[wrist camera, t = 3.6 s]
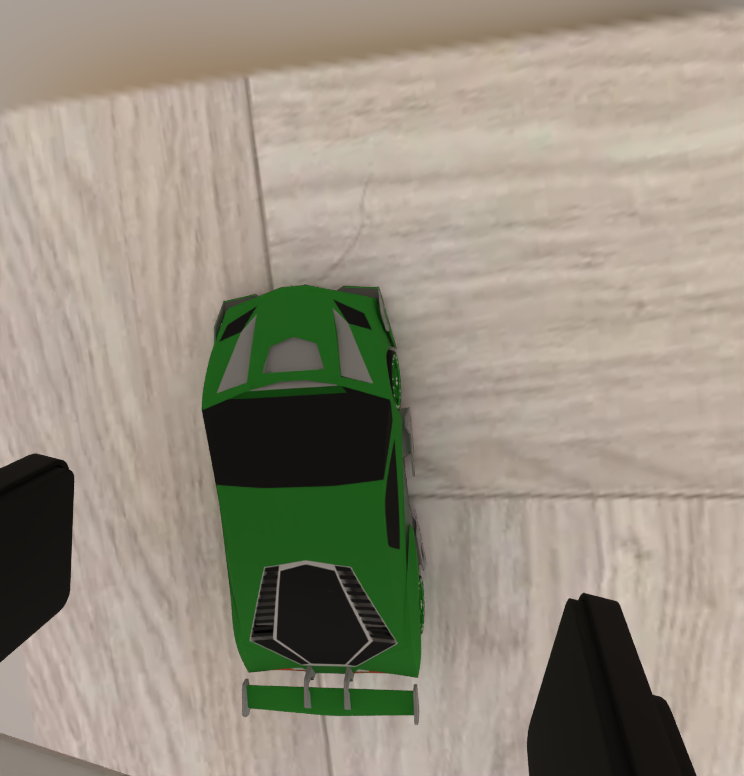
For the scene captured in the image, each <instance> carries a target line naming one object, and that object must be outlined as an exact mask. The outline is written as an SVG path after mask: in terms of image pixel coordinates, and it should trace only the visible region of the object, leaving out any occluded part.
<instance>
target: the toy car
mask: <svg viewBox="0 0 744 776" xmlns="http://www.w3.org/2000/svg"><path fill="white" fill-rule="evenodd" d="M221 323H222V325H221ZM389 348H396V345H395V342H394V338H393V335H392V331H391V328H390V324H389V321H388V317H387V314H386V310H385V307H384V303H383V300H382V296H381V292H380V289H379V287H356V286H343V287H341V288H340V289H339V290H337V291H335V290H330V289H325V288H319V287H314V286H308V285H306V284H305V285H301V286H291V287H281V288H279V289H276V290H274V291H271V292H269V293H266V294H263V295H261V296H258V295H256V294H254V295H249V296H245V297H241V298H237V299H232V300H228V301H225V300H224V302H223V304H222V307H221V310H220V312H219V315H218V318H217V321H216V323H215V326H214V347H213V350H212V353H211V356H210V360H209V364H208V368H207V372H206V377H205V382H204V389H203V397H202V413H203V419H204V424H205V429H206V434H207V440H208V445H209V450H210V455H211V461H212V466H213V472H214V477H215V482H216V488H217V493H218V499H219V505H220V513H221V520H222V528H223V536H224V544H225V552H226V561H227V569H228V577H229V585H230V594H231V606H232V620H233V629H234V636H235V640H236V644H237V648H238V651H239V654H240V656H241V658H242V661H243V663H244V665H245V667H246V668H247V670H248V672H258V671H268V670H295V671H306V674H305V678H304V687H288V686H259V685H249V679H245V681H244V682H243V685H242V715H243V717H247V716H248V715H249V713H250V709H251V708H253V709H264V710H274V711H285V712H295V713H306V714H316V715H330V716H375V715H414V722H415V725H418V723H419V699H418V689H417V685H416V684H414V688H413V691H402V690H373V689H348V686H349V682H350V681H353V676H354V673H389V674H397V675H403V676H410V677H416V678H418V674H419V669H420V660H421V634H422V632H423V627H424V590H423V582H422V578H421V576H420V575H419V566H418V565H420V564H422V568H423V570H424V569H425V566H426V558H425V553H424V549H423V544H422V540H421V535H420V530H419V526H418V521H417V516H416V512H415V509H414V515H415V519H414V518H413V517H412V516H411V510H410V504H409V497H408V490H407V482H406V473H405V464H404V457H405V456H407V455H408V454H410V453H411V459H412V470H413V476H415V468H414V448H413V437H412V426H411V416H410V408H401V409H400V403H401V380H400V370H399V363H398V358H397V355H396V353H395V351H393V350H388V349H389ZM358 380H360V381H358ZM415 520H416V521H415ZM316 673H340V674H345V678H344V688H316V687H309V682H310V680H314V677H315V674H316Z"/></svg>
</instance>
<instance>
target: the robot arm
mask: <svg viewBox="0 0 744 776" xmlns="http://www.w3.org/2000/svg"><path fill="white" fill-rule="evenodd" d="M73 501H74V474H73V472H72V471H71V470H69V467H68V465H67V463H66V462H65V461H64V460H60V459H56V458H52V457H48V456H44V455H40V454H31V455H28V456H26V457H24V458H22V459H20V460H17V461H15V462H13V463H11V464H9V465H7V466H5V467H2V468H0V662H1V661H2V660H4V659H5V658H6V657H7V656H8V655H9V654H11V653H12V652H13V651H14V650H15V649H16V648H18V647H19V646H20V645H21V644H22V643H23V642H24V641H26V640H27V639H28V638H29V637H30V636H31V635H33V634H34V633H35V632H36V631H37V630H38V629H40V628H41V627H42V626H43V625H44V624H45V623H47V622H48V621H49V620H50V619H51V618H52V617H53V616H55V615H56V614H57V613H58V612H59V611H60V610H61V609H62V608H63V607H64V605H65V604H66V602H67V600H68V597H69V594H70V580H71V554H72V527H73ZM527 753H528V766H529V776H696V773H695V771H694V768H693V765H692V763H691V760H690V758H689V755H688V753H687V750H686V748H685V745H684V743H683V740H682V737H681V735H680V732H679V730H678V727H677V725H676V722H675V720H674V717H673V714H672V712H671V709H670V707H669V706H668V704H667V702H666V700H664V699H663V698H662V697H659V696H656V695H652V692H651V689H650V686H649V684H648V681H647V678H646V675H645V673H644V670H643V667H642V664H641V662H640V659H639V656H638V653H637V651H636V648H635V645H634V643H633V640H632V637H631V634H630V632H629V629H628V626H627V623H626V621H625V618H624V615H623V612H622V610H621V607H620V605H619V603H618V602H617V601H614V600H610V599H606V598H602V597H598V596H594V595H590V594H586V593H583V594H581V596H580V597H579V599H578V600H575V599H571V598H570V599H568V601H567V602H566V605H565V608H564V612H563V615H562V618H561V621H560V625H559V628H558V631H557V635H556V638H555V641H554V645H553V648H552V651H551V655H550V658H549V661H548V665H547V668H546V671H545V674H544V678H543V681H542V684H541V688H540V691H539V694H538V698H537V701H536V704H535V708H534V711H533V714H532V717H531V721H530V725H529V729H528V737H527ZM0 776H130V775H127V774H124V773H121V772H118V771H115V770H112V769H109V768H106V767H103V766H100V765H97V764H94V763H90V762H87V761H84V760H81V759H78V758H75V757H72V756H69V755H66V754H63V753H60V752H57V751H54V750H51V749H48V748H45V747H42V746H39V745H36V744H33V743H30V742H27V741H24V740H20V739H18V738H15V737H12V736H8V735H5V734H2V733H0Z"/></svg>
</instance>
